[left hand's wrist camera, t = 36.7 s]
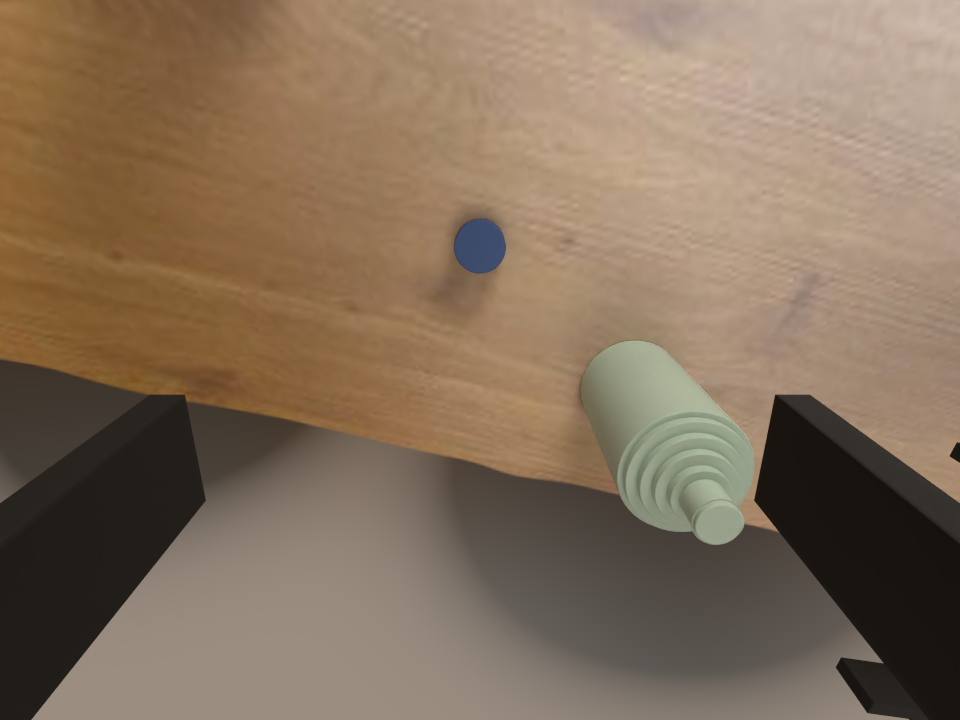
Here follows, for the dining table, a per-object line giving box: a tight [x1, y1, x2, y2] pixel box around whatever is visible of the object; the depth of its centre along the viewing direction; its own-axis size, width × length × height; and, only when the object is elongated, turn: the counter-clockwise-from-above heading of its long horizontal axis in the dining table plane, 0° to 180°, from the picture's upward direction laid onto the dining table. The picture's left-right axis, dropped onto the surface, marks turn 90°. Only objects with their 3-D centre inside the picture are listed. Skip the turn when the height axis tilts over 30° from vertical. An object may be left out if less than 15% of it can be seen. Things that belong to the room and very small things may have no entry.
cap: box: [454, 219, 506, 273], centre depth 41 cm, size 4×4×2 cm
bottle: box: [580, 340, 755, 545], centre depth 38 cm, size 8×8×18 cm
